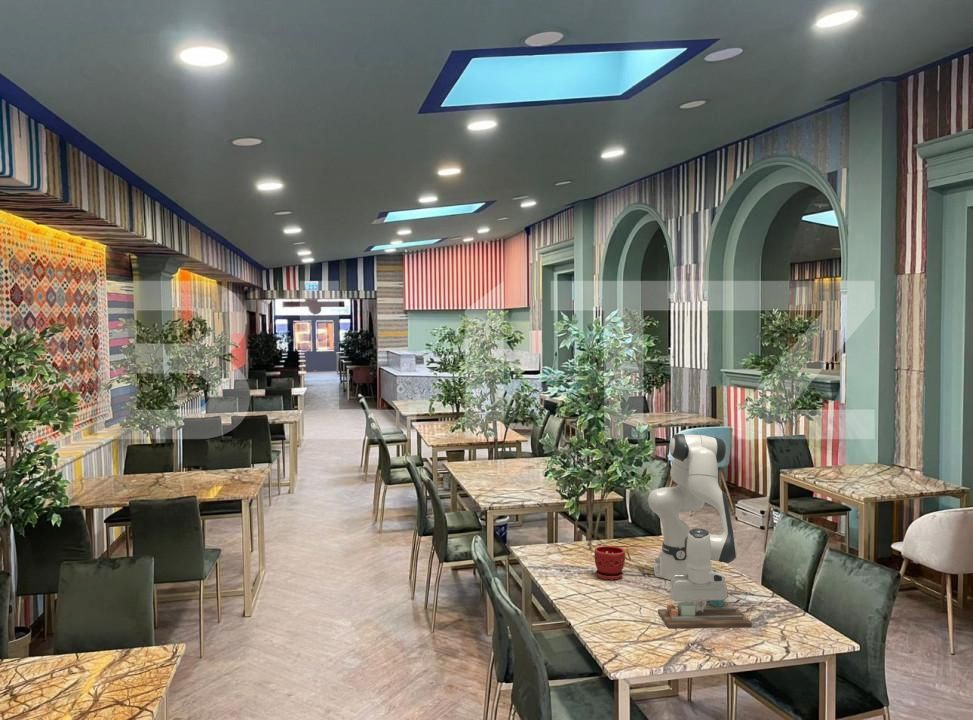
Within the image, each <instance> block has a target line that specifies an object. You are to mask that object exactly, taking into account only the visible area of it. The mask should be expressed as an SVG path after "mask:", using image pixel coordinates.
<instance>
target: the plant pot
mask: <svg viewBox="0 0 973 720" xmlns="http://www.w3.org/2000/svg"><path fill="white" fill-rule="evenodd" d="M593 553H594V564H595V566H596V569H597V570H595V575H596V576H598V577H599V578H600V579H603V580H607V579H611V580H612V581H613V579H615V580H618V579H621V578H622V577H623V575H624V572H623V569H624V566H625V561H626V550H625V549H623V548H622V547H619V546H612V545H603V546H597V547H595V548H594V552H593Z"/></svg>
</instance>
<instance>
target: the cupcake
mask: <svg viewBox="0 0 973 720" xmlns="http://www.w3.org/2000/svg"><path fill="white" fill-rule="evenodd" d="M728 597H729V591H728V590H727V599H728ZM708 601H709V603H710V605H711V606H713V607H715V608H722V607H723V606H724V603H725V601H726V600H708Z"/></svg>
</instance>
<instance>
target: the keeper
mask: <svg viewBox="0 0 973 720" xmlns="http://www.w3.org/2000/svg"><path fill="white" fill-rule="evenodd" d="M677 609H678V615H679V616H695V606H694V605H693V603H692V602H691V601H677Z"/></svg>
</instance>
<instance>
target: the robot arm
mask: <svg viewBox="0 0 973 720" xmlns="http://www.w3.org/2000/svg"><path fill="white" fill-rule="evenodd" d="M669 442H670V443H669V453H670V455H671V456H672V457H673V458H672V459H673V460H672V463H671V467H670V471H669V473H670V475H669V476H670V479H671V480H672V481H673V482H674V483H676V486H669V487H668V486H666V487H659V488H656V489H653V490H650V492H649V494H648V497H647V504H648V506H649V508H650V510H651V511H653V513H655V514H656V515H657V517H658V518H659V519H660V522H661V525H662V530H663V531H662V532H663V542H662V546H661V550H662V551H661V552H659V554H658V555H657V557H654V562H655V563H653V564H652V568H654V569H653V574H654V577H656V578H661V579H665V580H668V581H670V597H671V599H672V600H673V601H674V602H692V603H693V605H694V606H695V612H703V608H705V607H706V605H707V603H708V602H707V601H709V600H725V601H726V600H727V599H728V598H727V591H728V586H727V583H726V582H725V579H726V578H725V575H724V574H723V573H722V572H721V571H720V570H717V569H714V568H712V563H711V561H715V562H719V563H723V564H724V563H725V564H729V563H732V562H734V560H736V559H737V556H738V544H737V541H736V538H735V536H734V528H733V523H732V517H731V516H732V515H731V510H730V505H729V500H728V499H729V498H728V497H727V494H726V492H725V491H722V489H721V487H720V484H719V470H718V467H719V465H718V464H720V463H722V461H724V459H725V457H726V454H727V446H726V443H725V441H724V440H723V439H722V438H720V437H717V436H716V437H715V436H714V437H713V436H708V435H704V434H703V435H702V434H684V433H676V434H674V435H672V436H671V439H670V441H669ZM705 504H708V505H710V506H711V507H714V508H715V510H717V511H718V515H719V519H720V526H721V534H716V533H715V534H714V533H713V534H712V533H710V532H709V531H708V530H707V529H705V528H700V527H699V528H697V527H696V528H692V529H690V526H689V524H688V523H686V522H685V521H684V520H682V519H680V517H679V514H680V513H686V512H687V513H688V512H690V513H691V512H694V511H698V510H701V509H703V507H704V506H705ZM698 601H699V602H701V603H700V605H697V603H698Z"/></svg>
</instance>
